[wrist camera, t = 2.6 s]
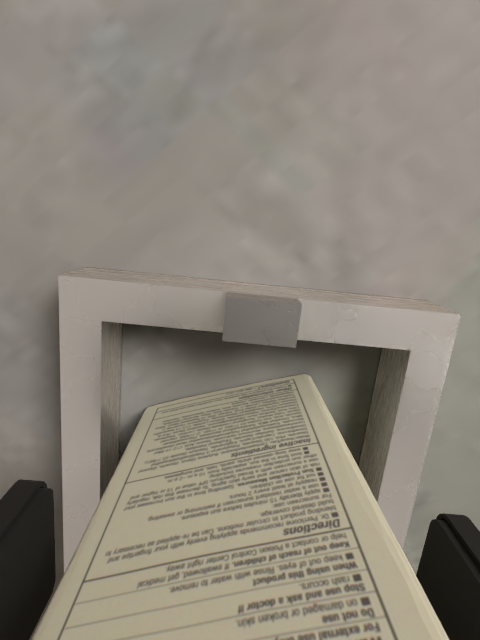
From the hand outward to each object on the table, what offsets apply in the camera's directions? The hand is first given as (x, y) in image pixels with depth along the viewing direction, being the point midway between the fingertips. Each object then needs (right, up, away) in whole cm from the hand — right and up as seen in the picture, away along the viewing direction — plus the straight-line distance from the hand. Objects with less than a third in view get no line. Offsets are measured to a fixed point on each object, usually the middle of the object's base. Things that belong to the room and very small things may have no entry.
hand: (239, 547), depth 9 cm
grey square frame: (0, +1, +5) cm, 5 cm away
